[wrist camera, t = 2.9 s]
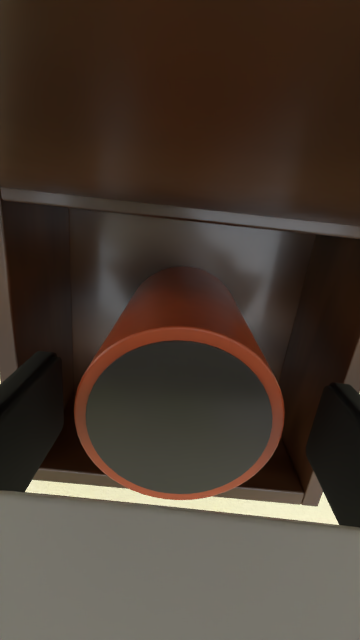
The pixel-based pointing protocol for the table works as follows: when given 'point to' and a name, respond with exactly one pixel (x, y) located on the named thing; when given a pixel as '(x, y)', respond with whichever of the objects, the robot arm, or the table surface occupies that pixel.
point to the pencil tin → (179, 392)
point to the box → (180, 251)
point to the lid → (185, 103)
